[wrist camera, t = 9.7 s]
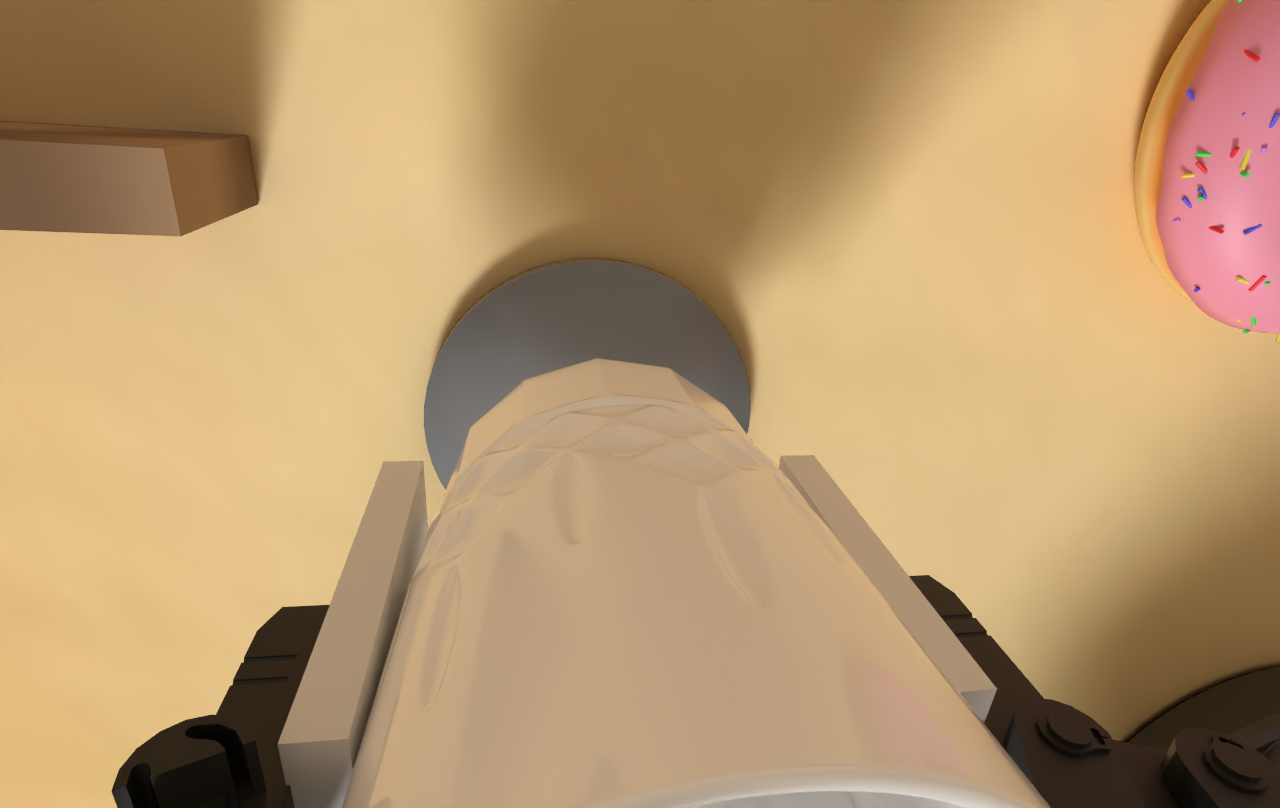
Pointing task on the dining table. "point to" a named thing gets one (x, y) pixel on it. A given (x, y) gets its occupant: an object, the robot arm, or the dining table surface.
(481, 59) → the dining table surface
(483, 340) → the coaster
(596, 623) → the white cup
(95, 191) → the brown wooden tray
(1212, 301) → the doughnut
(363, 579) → the robot arm
